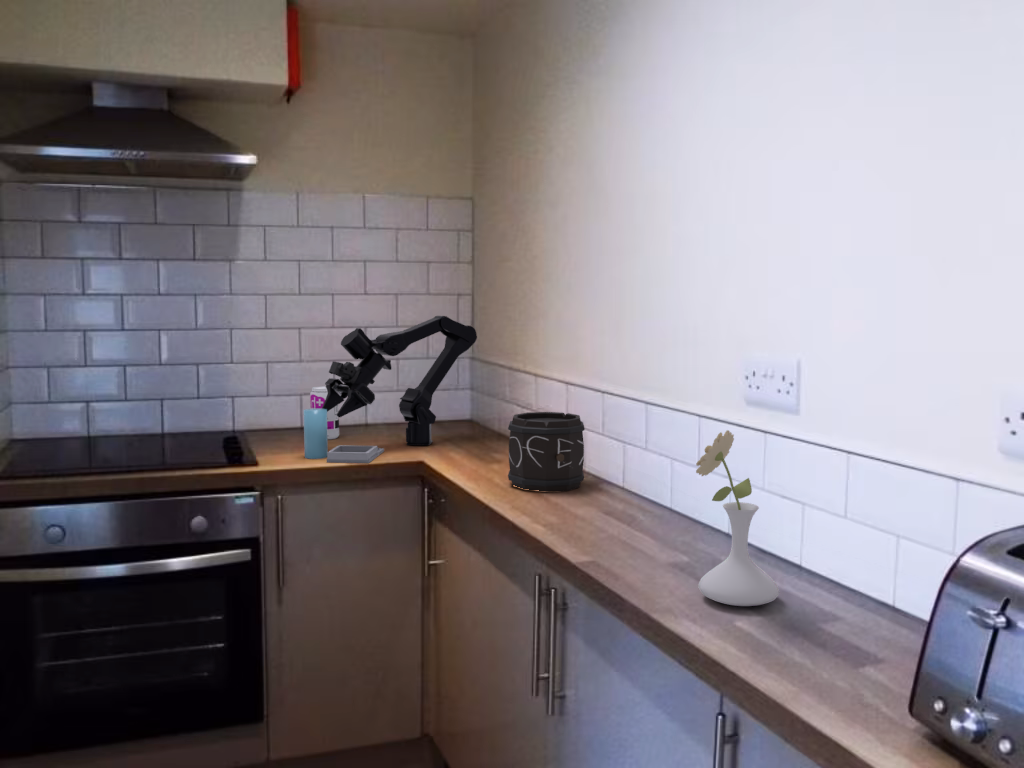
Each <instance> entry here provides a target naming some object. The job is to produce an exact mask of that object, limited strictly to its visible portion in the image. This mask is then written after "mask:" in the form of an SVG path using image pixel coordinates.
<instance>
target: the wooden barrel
mask: <svg viewBox="0 0 1024 768" xmlns="http://www.w3.org/2000/svg"><path fill="white" fill-rule="evenodd" d="M507 430H508V431H509V441H508V465H509V471H508V475H507V478H508V481H510V482H511V483H512V484H511V485H512V486H513V485H515V486H517V487H520V488H523V489H529V490H539V491H561V492H568V491H573V490H575V489H578V488H580V487H581V484H582V483H581V482H583V481H584V480H585V474H584V464H585V463H584V461H585V443H584V442H585V441H584V433H583V432H584V431H585V425H584V421H582V420H581V417H580V415H579V414H574V413H569V412H568V413H565V412H558V411H557V412H556V411H534V412H532V411H531V412H523V413H522V412H521V413H516V414H513V416H512V419H511V420H510V421H509V424H508V427H507Z"/></svg>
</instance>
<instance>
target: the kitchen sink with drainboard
mask: <svg viewBox="0 0 1024 768" xmlns="http://www.w3.org/2000/svg"><path fill="white" fill-rule="evenodd" d="M384 452H385V448H384V447H383V448H381V447H378V445H345V444H343V445H341V444H339V445H337V446H335V447H333V448H331V449H330V450H329V451H328V452H327V457H326V463H335V464H336V463H338V464H339V463H340V464H343V463H345V464H349V463H350V464H369V463H371V462H372V461H374V460H375V459H376V458H377V457H378V456H380V455H381V454H383V453H384Z"/></svg>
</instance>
